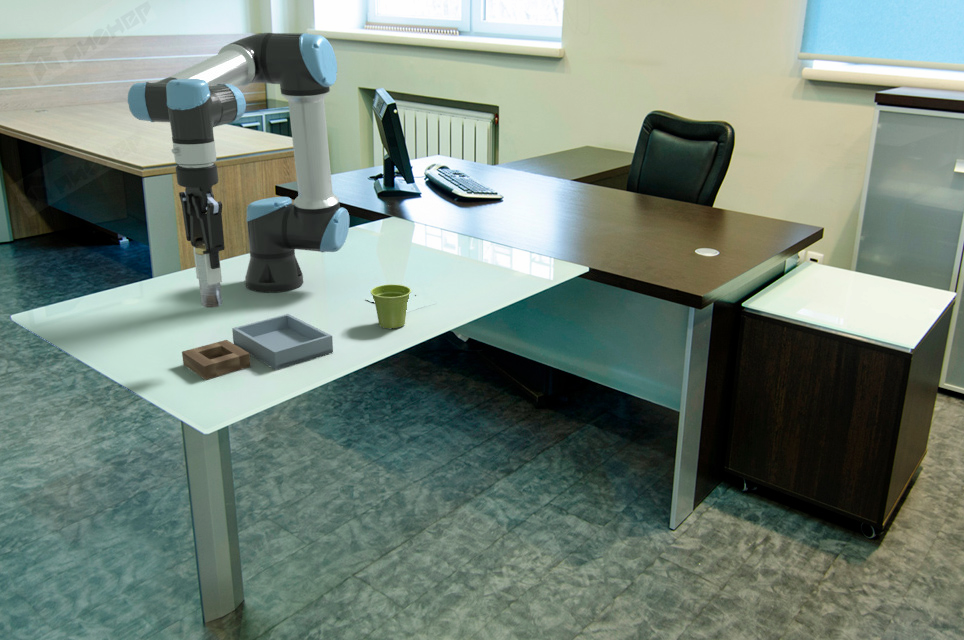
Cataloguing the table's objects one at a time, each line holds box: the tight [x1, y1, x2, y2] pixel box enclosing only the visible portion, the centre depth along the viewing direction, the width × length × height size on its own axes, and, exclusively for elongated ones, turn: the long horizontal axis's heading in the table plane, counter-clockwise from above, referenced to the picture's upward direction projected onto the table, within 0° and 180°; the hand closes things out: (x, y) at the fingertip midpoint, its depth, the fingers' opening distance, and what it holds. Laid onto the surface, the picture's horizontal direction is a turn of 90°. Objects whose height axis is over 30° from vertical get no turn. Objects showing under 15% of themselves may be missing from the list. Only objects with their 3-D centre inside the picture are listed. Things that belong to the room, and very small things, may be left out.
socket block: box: [181, 339, 252, 381], centre depth 170 cm, size 10×10×3 cm
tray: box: [231, 313, 334, 371], centre depth 179 cm, size 14×18×4 cm
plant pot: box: [370, 283, 412, 329], centre depth 193 cm, size 9×9×9 cm
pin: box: [195, 244, 223, 308], centre depth 164 cm, size 4×4×12 cm
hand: (209, 279), depth 164 cm, fingers closed on pin, 4 cm apart
